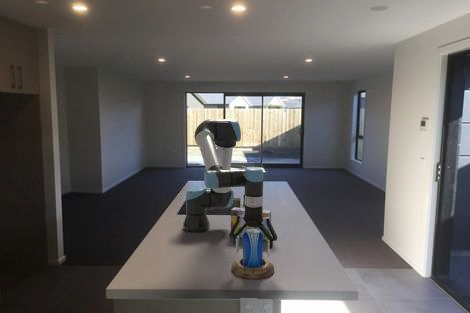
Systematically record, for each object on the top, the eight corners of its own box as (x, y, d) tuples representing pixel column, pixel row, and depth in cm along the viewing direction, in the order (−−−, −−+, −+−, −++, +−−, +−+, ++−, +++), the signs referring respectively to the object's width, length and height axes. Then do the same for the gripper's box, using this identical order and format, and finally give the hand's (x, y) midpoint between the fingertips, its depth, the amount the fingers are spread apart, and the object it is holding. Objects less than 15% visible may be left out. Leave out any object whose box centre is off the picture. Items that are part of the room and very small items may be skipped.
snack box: (271, 238, 187) (271, 210, 185) (268, 241, 182) (269, 213, 180) (233, 233, 194) (233, 206, 192) (230, 236, 189) (230, 209, 187)
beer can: (241, 262, 154) (241, 227, 152) (260, 262, 154) (261, 226, 152) (243, 271, 145) (244, 234, 143) (264, 270, 146) (264, 233, 144)
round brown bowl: (226, 276, 144) (226, 268, 143) (237, 258, 161) (237, 251, 160) (270, 282, 139) (270, 274, 139) (276, 263, 156) (276, 256, 156)
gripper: (222, 205, 146) (222, 254, 149) (282, 210, 139) (281, 260, 142) (227, 200, 153) (227, 247, 156) (284, 205, 147) (283, 253, 150)
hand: (252, 253), depth 149 cm, fingers open, 13 cm apart
